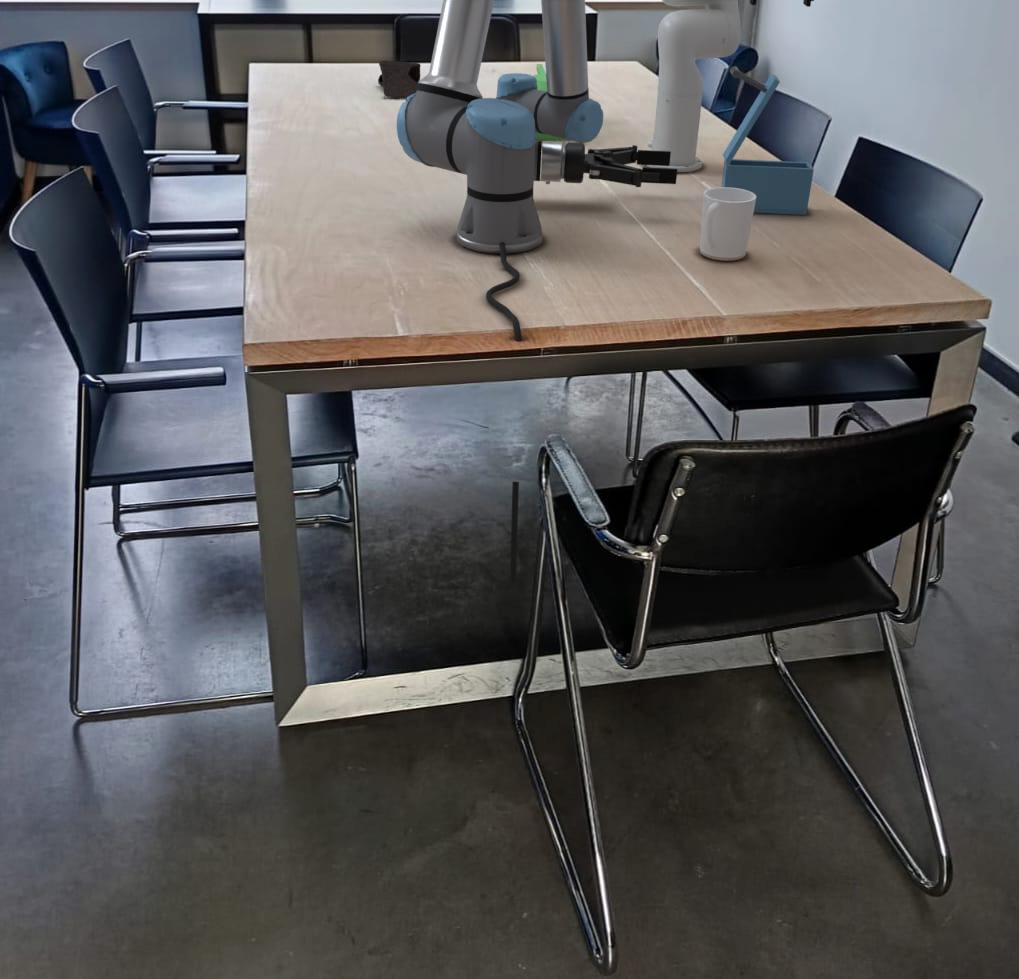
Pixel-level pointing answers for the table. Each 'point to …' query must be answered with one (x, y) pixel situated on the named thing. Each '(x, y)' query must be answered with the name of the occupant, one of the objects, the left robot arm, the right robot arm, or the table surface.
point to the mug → (726, 222)
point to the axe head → (399, 78)
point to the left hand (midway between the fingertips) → (673, 167)
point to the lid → (753, 112)
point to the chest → (772, 184)
